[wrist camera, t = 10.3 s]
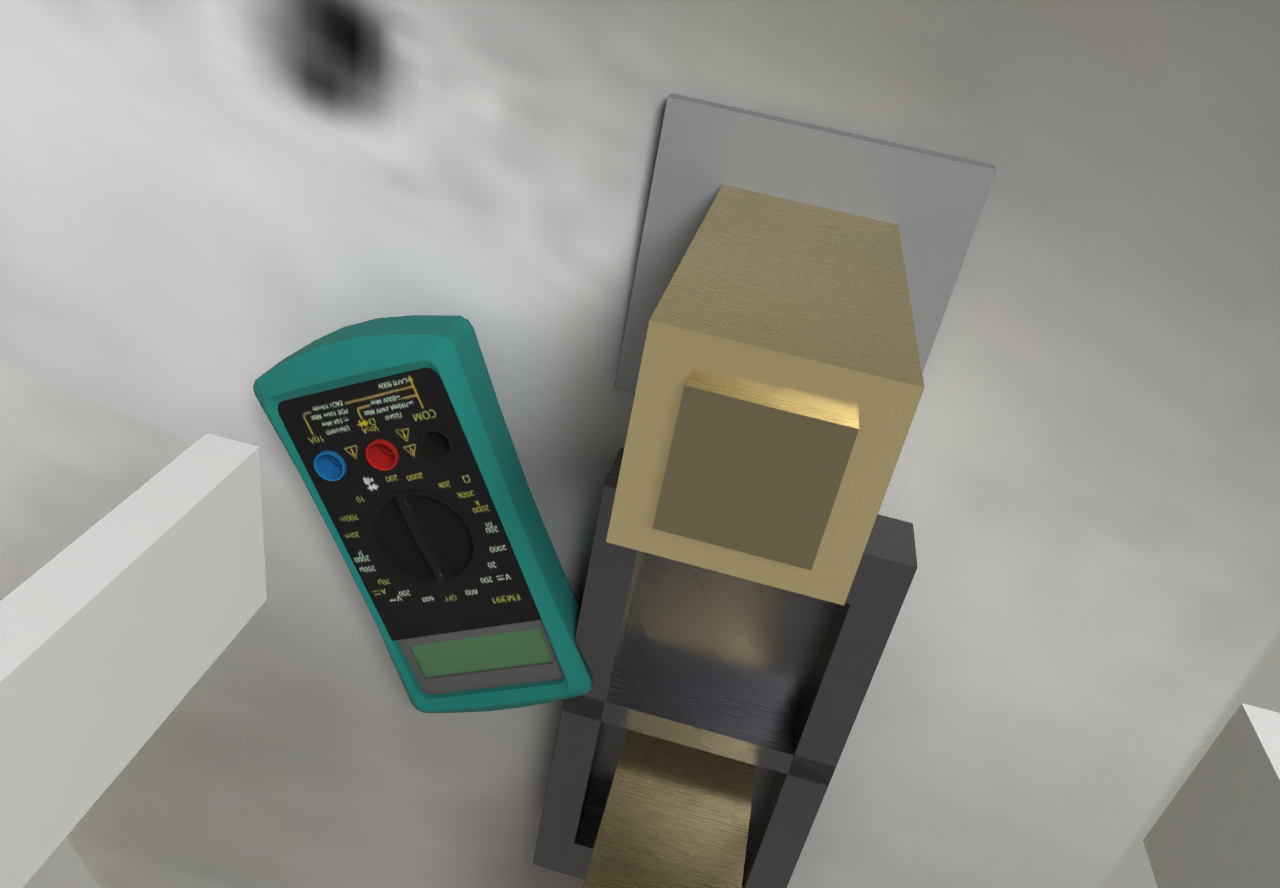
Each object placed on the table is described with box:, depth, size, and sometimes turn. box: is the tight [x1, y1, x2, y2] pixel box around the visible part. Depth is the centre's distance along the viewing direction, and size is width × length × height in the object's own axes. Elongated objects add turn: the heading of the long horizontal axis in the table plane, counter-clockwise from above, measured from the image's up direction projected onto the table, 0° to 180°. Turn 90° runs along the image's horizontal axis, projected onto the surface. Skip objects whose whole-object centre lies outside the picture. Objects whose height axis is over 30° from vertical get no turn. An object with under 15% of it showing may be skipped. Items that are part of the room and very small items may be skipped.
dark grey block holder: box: [533, 449, 917, 888], centre depth 35 cm, size 19×10×2 cm, turn 170°
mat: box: [615, 94, 996, 392], centre depth 28 cm, size 9×9×1 cm
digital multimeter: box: [253, 316, 592, 713], centre depth 32 cm, size 7×15×3 cm, turn 17°
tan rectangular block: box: [606, 184, 924, 605], centre depth 22 cm, size 5×5×11 cm
